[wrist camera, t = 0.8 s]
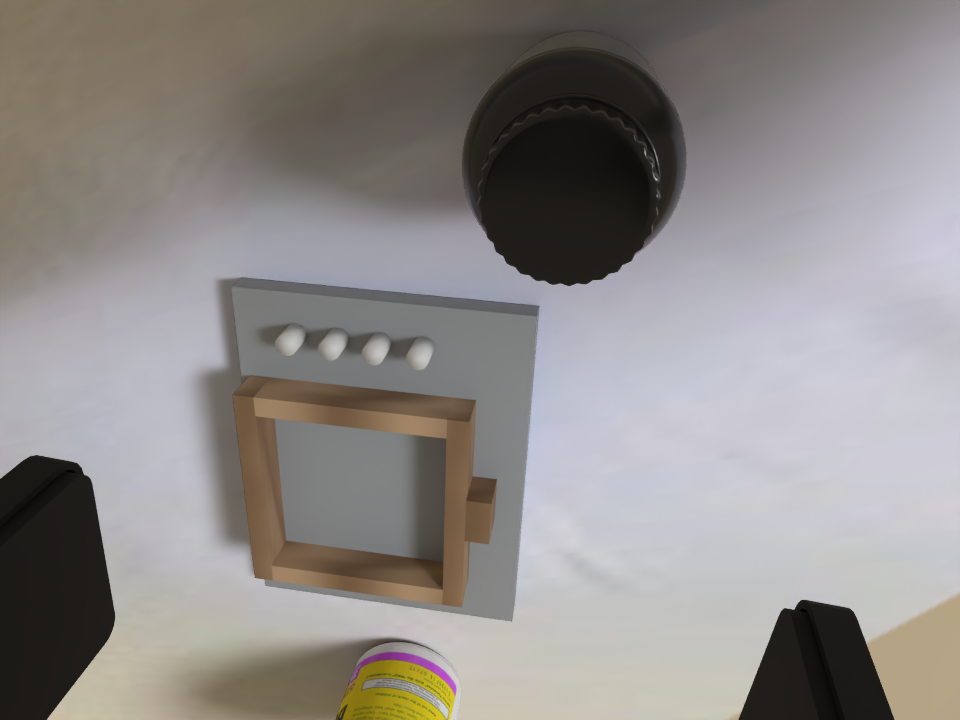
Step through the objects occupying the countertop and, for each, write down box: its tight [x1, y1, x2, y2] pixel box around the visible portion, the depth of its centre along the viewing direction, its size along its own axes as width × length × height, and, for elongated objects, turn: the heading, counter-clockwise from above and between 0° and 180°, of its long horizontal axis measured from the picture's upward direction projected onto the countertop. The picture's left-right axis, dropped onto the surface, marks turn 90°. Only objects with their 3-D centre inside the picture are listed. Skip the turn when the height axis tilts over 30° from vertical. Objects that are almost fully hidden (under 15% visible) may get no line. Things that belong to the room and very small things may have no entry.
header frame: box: [233, 375, 497, 608], centre depth 37 cm, size 12×11×2 cm
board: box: [231, 278, 539, 621], centre depth 38 cm, size 14×18×3 cm
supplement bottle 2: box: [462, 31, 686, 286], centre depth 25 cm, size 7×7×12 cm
